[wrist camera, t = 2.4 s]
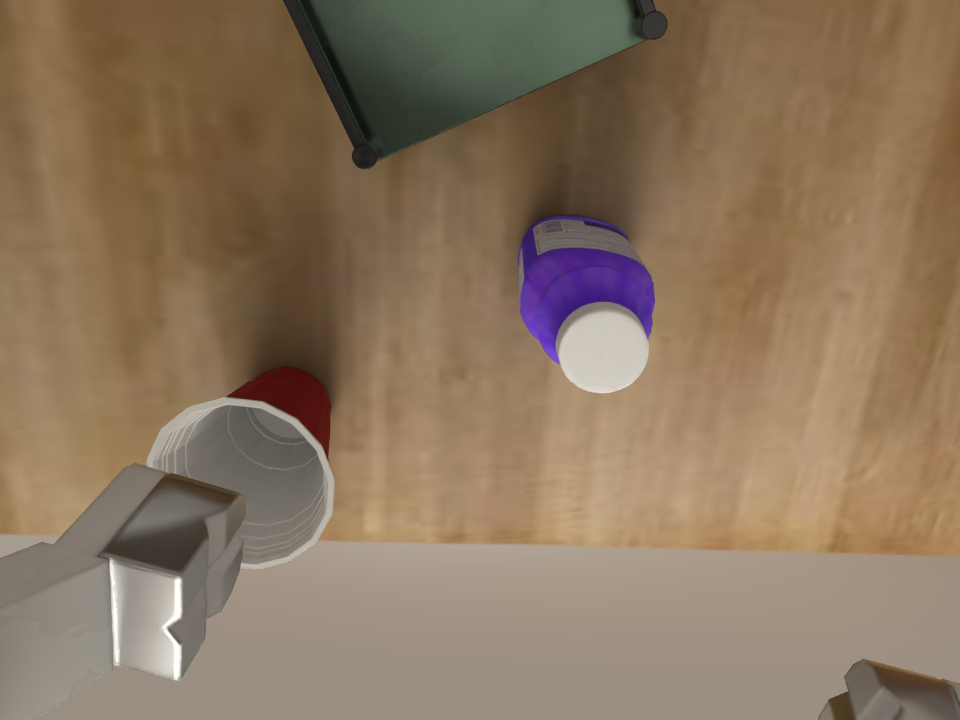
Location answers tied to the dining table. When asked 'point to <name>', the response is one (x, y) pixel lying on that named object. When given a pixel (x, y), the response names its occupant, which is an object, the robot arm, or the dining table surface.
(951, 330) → the dining table surface
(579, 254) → the bottle
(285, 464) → the plastic cup
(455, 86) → the tray
